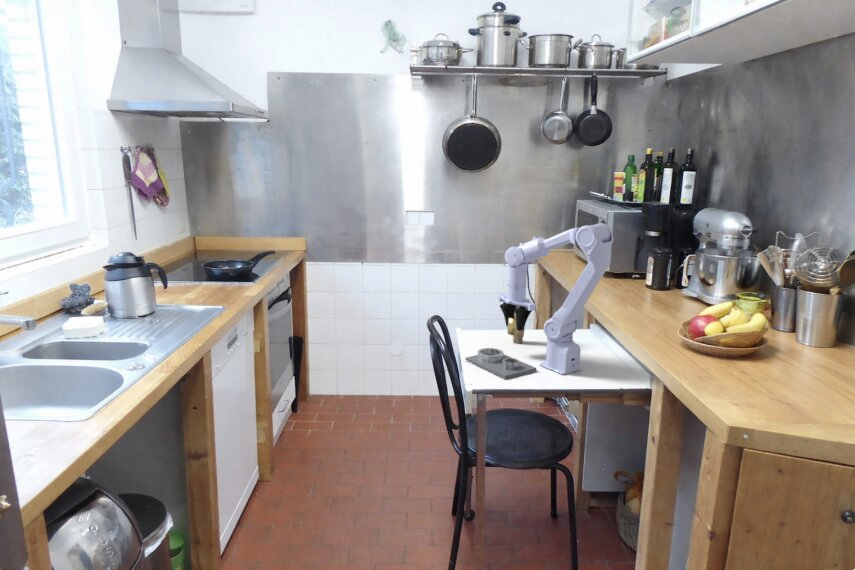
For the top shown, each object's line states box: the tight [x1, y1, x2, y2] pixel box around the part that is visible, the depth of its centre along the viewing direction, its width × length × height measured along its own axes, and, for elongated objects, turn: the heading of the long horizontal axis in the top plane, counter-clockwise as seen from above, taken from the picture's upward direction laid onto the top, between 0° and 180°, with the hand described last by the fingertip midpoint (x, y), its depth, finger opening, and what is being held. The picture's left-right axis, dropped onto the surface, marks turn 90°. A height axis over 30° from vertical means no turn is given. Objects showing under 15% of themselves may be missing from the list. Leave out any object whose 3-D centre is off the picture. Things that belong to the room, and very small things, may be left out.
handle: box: [512, 297, 531, 344], centre depth 189 cm, size 5×6×15 cm
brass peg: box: [507, 316, 522, 336], centre depth 176 cm, size 4×4×5 cm
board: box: [465, 354, 537, 380], centre depth 168 cm, size 18×12×1 cm, turn 34°
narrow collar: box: [502, 357, 520, 370], centre depth 164 cm, size 5×5×2 cm
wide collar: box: [476, 347, 505, 363], centre depth 172 cm, size 8×8×2 cm
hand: (514, 328), depth 176 cm, fingers closed on brass peg, 4 cm apart
